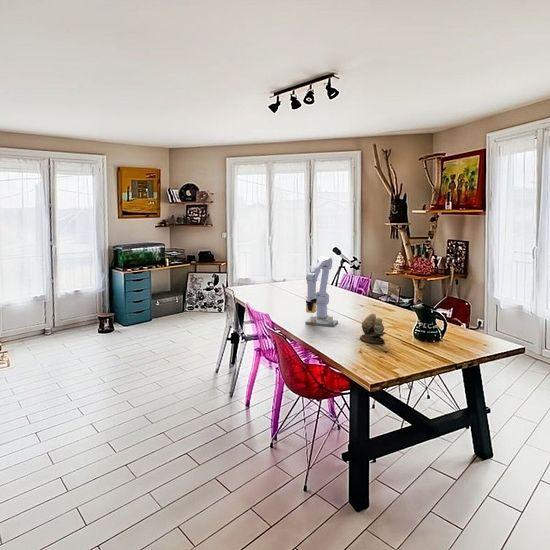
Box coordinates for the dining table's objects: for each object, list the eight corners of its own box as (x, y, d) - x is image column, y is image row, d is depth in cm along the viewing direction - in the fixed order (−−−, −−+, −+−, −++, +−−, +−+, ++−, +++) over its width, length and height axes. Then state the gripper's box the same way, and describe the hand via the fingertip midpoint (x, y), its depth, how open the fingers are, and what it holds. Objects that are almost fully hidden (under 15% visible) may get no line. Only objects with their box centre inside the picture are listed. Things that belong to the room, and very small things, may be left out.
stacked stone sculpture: (391, 343, 257) (392, 315, 254) (377, 346, 251) (378, 317, 248) (368, 335, 272) (369, 309, 269) (354, 339, 265) (355, 311, 263)
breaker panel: (310, 320, 310) (310, 317, 310) (337, 322, 303) (337, 319, 303) (305, 324, 299) (305, 320, 299) (334, 326, 292) (334, 323, 292)
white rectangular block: (311, 321, 305) (311, 315, 305) (315, 322, 304) (316, 316, 303) (310, 322, 302) (310, 316, 302) (314, 323, 301) (314, 317, 301)
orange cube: (308, 310, 307) (308, 302, 306) (316, 311, 305) (316, 302, 304) (306, 312, 302) (306, 303, 301) (314, 313, 300) (314, 304, 299)
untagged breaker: (328, 321, 301) (328, 315, 300) (332, 322, 300) (333, 316, 299) (327, 322, 298) (327, 316, 297) (331, 323, 297) (332, 317, 296)
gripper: (309, 288, 309) (308, 307, 311) (303, 292, 296) (302, 311, 298) (318, 289, 307) (318, 308, 309) (313, 292, 293) (312, 312, 295)
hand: (311, 309), depth 303 cm, fingers closed on orange cube, 6 cm apart
